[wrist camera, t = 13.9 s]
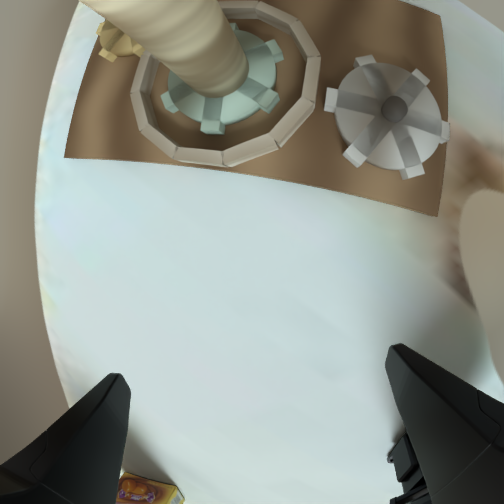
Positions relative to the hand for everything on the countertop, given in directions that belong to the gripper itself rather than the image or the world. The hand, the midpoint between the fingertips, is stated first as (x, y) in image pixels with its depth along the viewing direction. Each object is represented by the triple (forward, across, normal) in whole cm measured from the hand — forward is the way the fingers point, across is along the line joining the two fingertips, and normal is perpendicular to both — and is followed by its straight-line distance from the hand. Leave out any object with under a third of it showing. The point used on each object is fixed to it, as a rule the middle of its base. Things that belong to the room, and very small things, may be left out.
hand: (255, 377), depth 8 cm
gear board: (+15, -1, -13) cm, 20 cm away
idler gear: (+14, 0, -11) cm, 18 cm away
